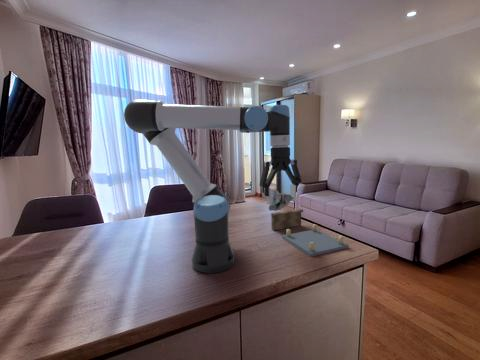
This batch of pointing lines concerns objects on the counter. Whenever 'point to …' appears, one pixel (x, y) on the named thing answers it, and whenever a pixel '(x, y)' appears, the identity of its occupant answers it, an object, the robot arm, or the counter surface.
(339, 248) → the base
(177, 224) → the counter surface
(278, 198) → the mineral specimen
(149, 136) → the robot arm
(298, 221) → the panel
